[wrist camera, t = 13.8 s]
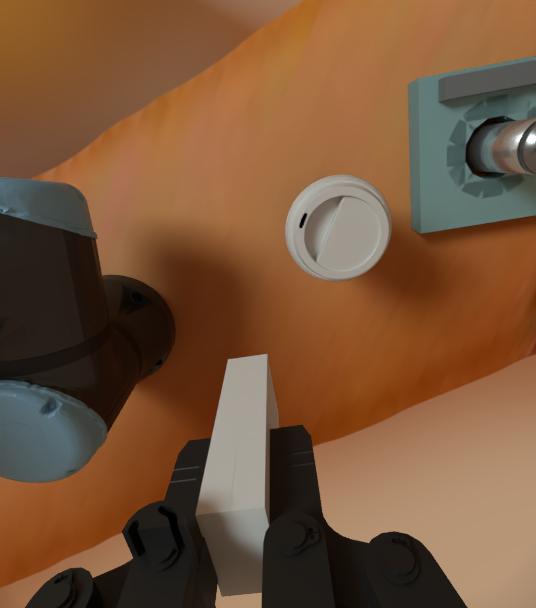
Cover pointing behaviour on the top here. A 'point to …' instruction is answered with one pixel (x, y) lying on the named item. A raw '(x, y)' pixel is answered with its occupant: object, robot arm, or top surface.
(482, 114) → the jig
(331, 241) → the coffee cup
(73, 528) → the top surface
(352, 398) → the top surface
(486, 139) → the metal cylinder
